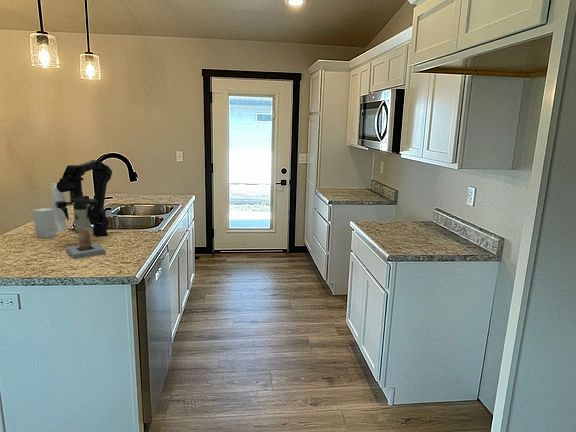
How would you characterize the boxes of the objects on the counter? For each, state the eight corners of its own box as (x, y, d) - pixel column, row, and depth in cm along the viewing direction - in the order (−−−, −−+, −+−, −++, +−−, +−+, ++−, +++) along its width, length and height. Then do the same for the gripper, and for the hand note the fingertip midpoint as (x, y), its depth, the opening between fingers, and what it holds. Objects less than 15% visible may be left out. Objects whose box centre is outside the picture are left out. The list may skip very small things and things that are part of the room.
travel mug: (86, 227, 247) (84, 198, 243) (92, 230, 242) (90, 200, 238) (72, 230, 241) (70, 200, 237) (79, 232, 236) (76, 202, 232)
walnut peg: (86, 250, 202) (84, 227, 200) (93, 252, 200) (92, 228, 198) (77, 253, 197) (75, 229, 195) (85, 254, 196) (83, 230, 193)
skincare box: (57, 236, 226) (54, 208, 223) (46, 239, 220) (44, 211, 217) (45, 234, 229) (43, 207, 226) (35, 237, 223) (32, 209, 220)
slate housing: (96, 247, 208) (96, 243, 208) (105, 253, 198) (104, 249, 198) (66, 251, 199) (66, 247, 199) (73, 258, 189) (73, 254, 189)
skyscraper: (57, 231, 235) (53, 184, 230) (50, 229, 239) (46, 182, 233) (70, 229, 242) (67, 182, 236) (63, 227, 246) (60, 181, 240)
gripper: (59, 193, 196) (61, 224, 199) (99, 190, 208) (101, 220, 211) (53, 190, 204) (56, 220, 208) (93, 188, 216) (95, 216, 220)
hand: (77, 219), depth 211 cm, fingers open, 9 cm apart
